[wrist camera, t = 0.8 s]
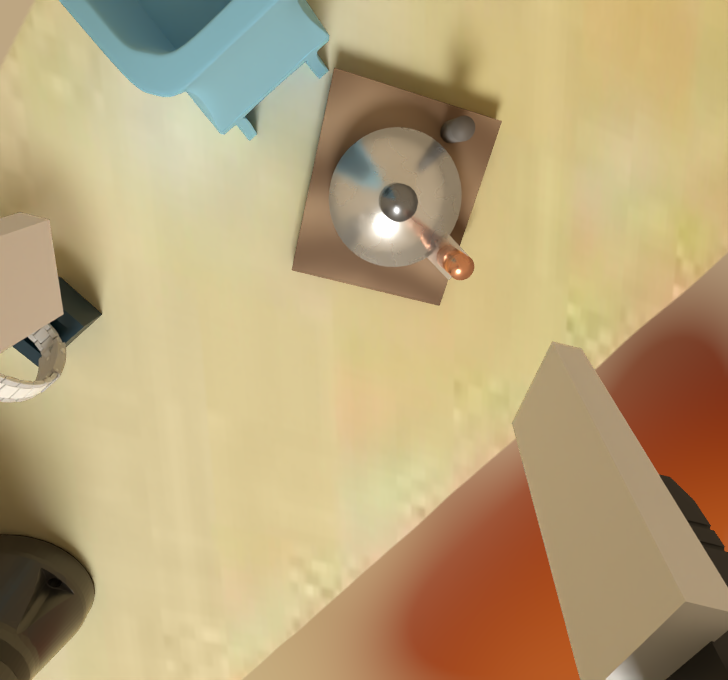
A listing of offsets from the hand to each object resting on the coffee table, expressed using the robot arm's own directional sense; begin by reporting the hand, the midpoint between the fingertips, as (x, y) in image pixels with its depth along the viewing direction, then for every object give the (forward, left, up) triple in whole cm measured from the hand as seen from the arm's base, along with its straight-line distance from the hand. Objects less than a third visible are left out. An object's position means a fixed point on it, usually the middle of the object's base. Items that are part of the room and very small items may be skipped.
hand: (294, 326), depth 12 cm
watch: (-14, +20, -27) cm, 36 cm away
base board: (+3, -5, -27) cm, 28 cm away
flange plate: (+2, -6, -25) cm, 26 cm away
